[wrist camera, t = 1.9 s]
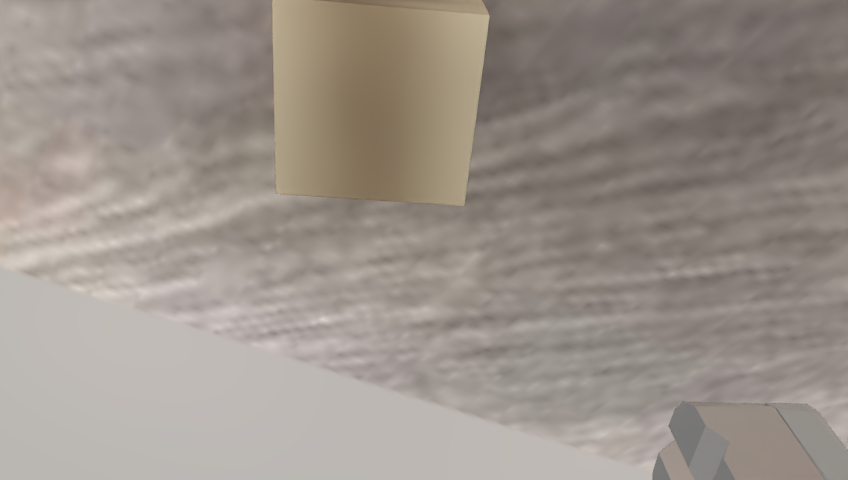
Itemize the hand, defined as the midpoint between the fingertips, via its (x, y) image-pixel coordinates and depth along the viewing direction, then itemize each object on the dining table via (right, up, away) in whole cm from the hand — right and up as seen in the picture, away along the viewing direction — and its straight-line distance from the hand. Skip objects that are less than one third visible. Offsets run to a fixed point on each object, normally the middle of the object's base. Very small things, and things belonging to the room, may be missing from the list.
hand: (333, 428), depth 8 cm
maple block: (0, +8, +14) cm, 17 cm away
